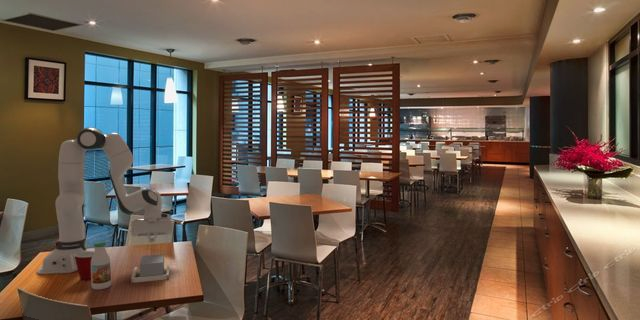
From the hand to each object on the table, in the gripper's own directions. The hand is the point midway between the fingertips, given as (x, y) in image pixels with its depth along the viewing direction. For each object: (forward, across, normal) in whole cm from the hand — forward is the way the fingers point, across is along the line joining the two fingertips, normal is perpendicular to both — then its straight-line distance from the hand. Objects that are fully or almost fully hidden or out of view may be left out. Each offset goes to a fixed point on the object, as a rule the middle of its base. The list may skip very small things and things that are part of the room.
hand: (151, 241), depth 226 cm
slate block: (+20, +1, -3) cm, 20 cm away
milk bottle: (+27, -20, -10) cm, 35 cm away
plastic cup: (+17, -28, +1) cm, 32 cm away
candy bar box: (-18, -43, +36) cm, 59 cm away
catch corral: (+20, 0, -2) cm, 20 cm away
